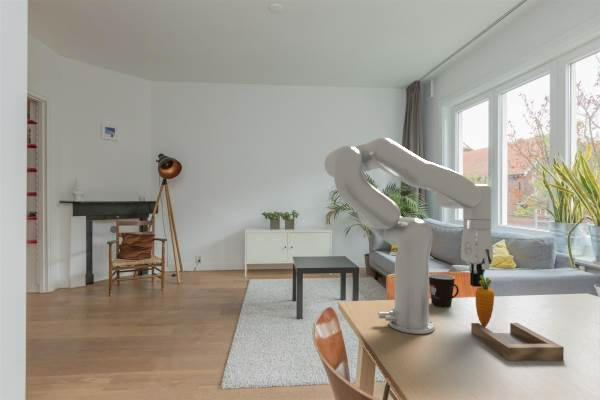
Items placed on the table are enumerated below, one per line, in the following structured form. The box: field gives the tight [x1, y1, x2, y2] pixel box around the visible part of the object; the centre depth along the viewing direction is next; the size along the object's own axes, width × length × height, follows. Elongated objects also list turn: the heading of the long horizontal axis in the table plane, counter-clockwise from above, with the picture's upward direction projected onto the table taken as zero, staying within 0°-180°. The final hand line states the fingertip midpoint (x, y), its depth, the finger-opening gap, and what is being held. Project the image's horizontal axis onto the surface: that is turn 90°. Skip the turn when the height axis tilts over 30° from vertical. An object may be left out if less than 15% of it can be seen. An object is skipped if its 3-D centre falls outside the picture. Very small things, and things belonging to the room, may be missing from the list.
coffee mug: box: [429, 273, 460, 308], centre depth 121 cm, size 12×9×10 cm
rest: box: [470, 322, 565, 362], centre depth 87 cm, size 13×16×3 cm
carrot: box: [475, 274, 495, 328], centre depth 100 cm, size 5×5×15 cm
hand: (476, 285), depth 104 cm, fingers closed
